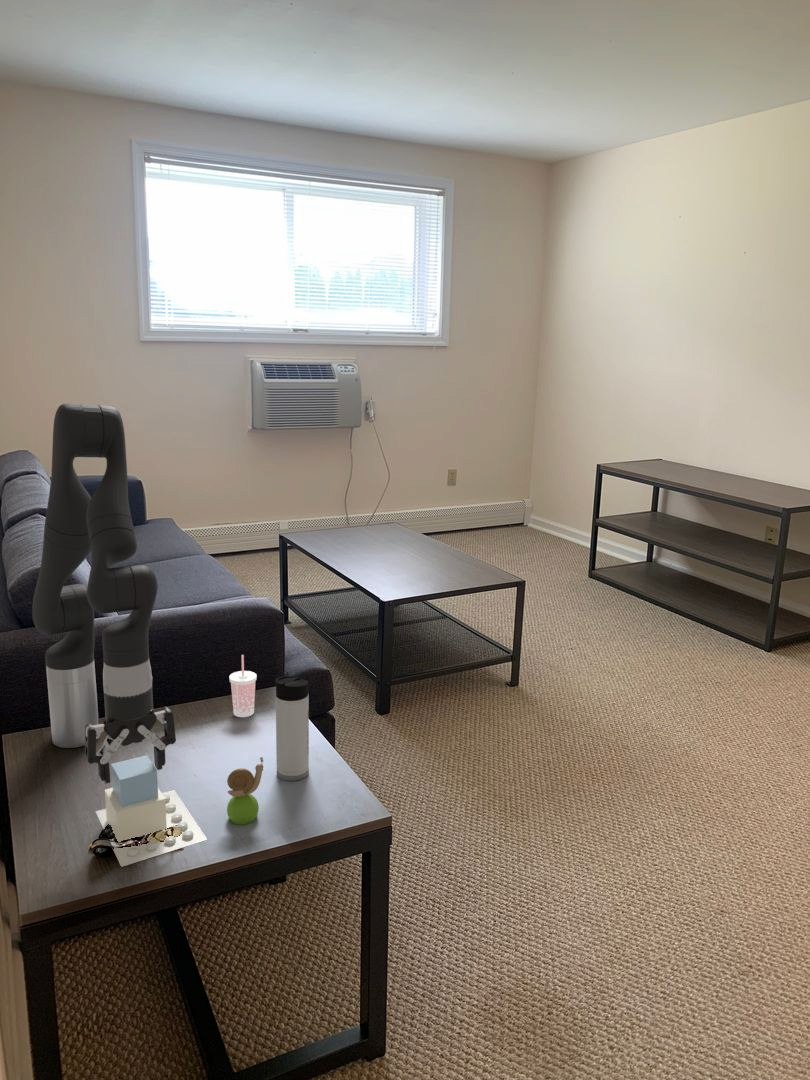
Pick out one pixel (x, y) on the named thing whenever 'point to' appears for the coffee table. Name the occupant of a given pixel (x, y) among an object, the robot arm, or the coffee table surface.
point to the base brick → (135, 816)
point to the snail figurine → (243, 794)
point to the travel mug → (292, 728)
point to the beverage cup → (243, 691)
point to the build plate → (174, 816)
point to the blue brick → (134, 780)
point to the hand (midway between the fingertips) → (132, 774)
